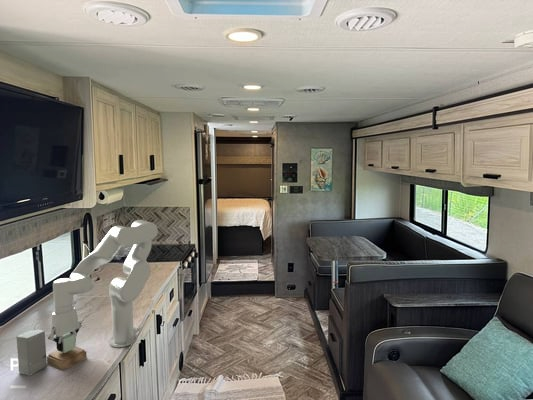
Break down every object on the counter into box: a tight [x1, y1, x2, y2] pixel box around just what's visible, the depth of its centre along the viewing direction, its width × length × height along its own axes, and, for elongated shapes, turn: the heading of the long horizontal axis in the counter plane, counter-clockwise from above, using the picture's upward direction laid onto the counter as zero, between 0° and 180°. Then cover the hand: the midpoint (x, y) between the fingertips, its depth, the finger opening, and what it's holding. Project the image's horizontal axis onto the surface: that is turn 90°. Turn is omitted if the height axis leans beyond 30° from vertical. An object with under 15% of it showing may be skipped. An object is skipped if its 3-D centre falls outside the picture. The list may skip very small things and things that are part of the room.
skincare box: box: [15, 328, 48, 377], centre depth 153 cm, size 8×7×16 cm
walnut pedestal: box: [46, 346, 88, 371], centre depth 160 cm, size 11×11×4 cm
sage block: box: [61, 333, 77, 353], centre depth 160 cm, size 5×5×6 cm
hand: (66, 347), depth 160 cm, fingers closed on sage block, 5 cm apart
